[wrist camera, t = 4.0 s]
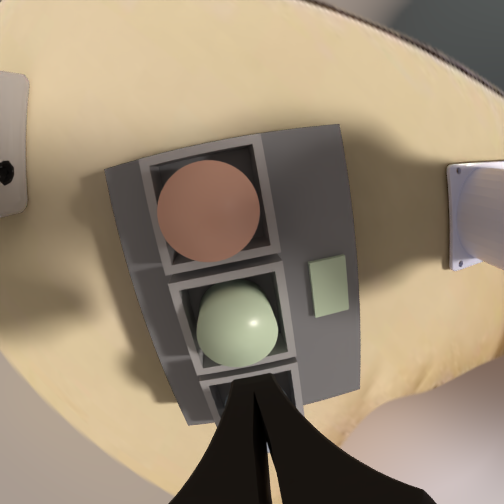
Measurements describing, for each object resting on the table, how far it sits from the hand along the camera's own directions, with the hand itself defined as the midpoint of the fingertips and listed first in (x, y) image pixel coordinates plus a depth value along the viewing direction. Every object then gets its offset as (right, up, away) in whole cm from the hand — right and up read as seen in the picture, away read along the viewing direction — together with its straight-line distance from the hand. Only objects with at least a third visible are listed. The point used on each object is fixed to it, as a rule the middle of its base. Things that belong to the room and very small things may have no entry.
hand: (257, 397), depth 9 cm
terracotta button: (-2, +7, +3) cm, 8 cm away
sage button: (-1, +2, +6) cm, 6 cm away
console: (0, +3, +9) cm, 9 cm away
